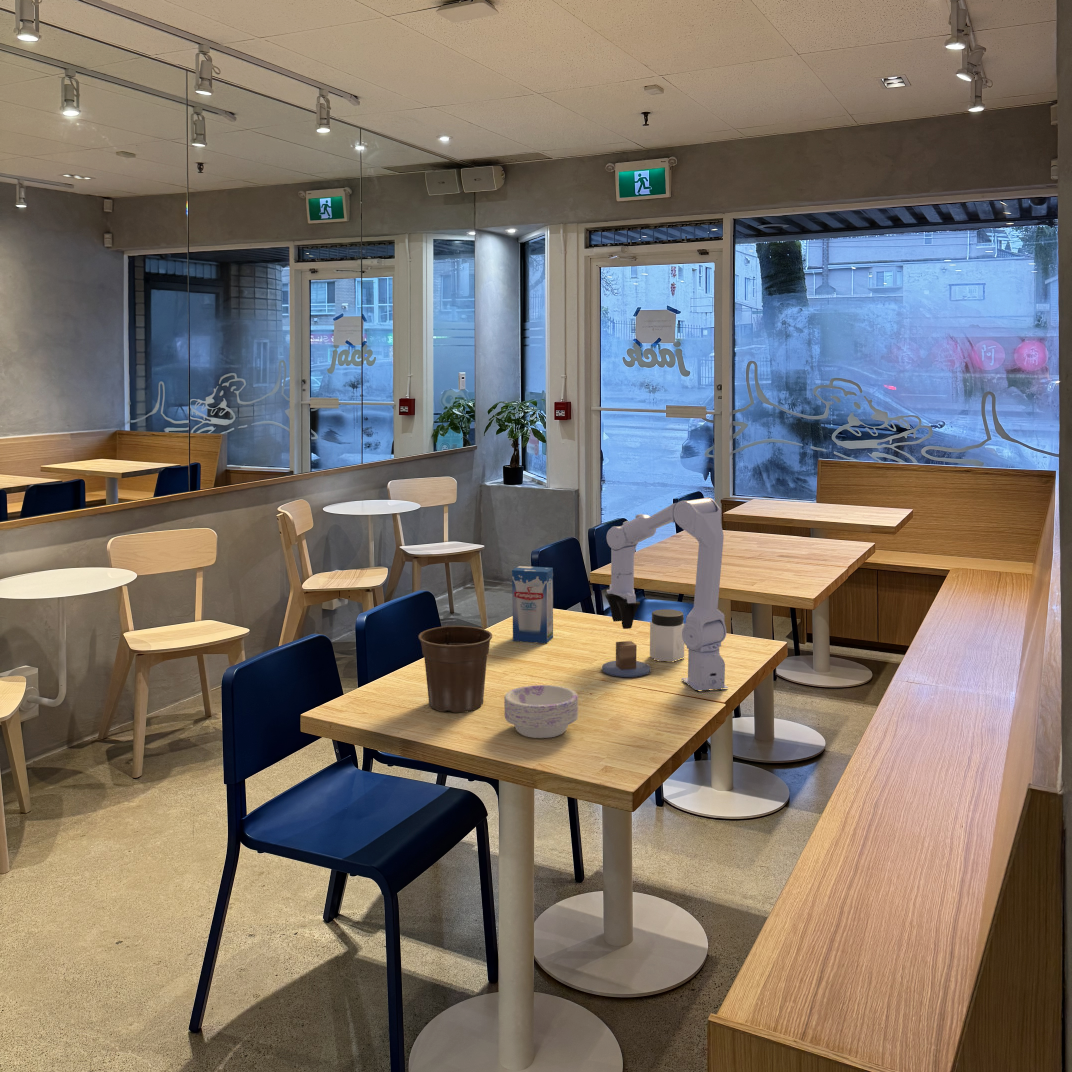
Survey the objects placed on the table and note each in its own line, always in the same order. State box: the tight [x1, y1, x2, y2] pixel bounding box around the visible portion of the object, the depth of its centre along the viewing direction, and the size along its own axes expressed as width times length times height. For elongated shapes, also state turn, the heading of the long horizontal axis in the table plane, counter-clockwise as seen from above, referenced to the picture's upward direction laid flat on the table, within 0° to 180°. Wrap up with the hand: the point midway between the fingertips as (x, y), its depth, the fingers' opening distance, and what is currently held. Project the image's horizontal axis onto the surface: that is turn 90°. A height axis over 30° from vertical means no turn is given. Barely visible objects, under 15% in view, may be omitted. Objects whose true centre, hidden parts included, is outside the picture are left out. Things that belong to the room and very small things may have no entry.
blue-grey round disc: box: [601, 660, 651, 678], centre depth 247 cm, size 12×12×1 cm
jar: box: [649, 608, 686, 662], centre depth 257 cm, size 9×8×12 cm
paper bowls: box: [503, 684, 579, 739], centre depth 205 cm, size 15×15×8 cm
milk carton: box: [511, 565, 554, 644], centre depth 275 cm, size 10×6×20 cm, turn 73°
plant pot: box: [418, 625, 493, 714], centre depth 221 cm, size 16×16×16 cm
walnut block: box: [615, 640, 638, 670], centre depth 246 cm, size 4×4×6 cm
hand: (622, 624), depth 254 cm, fingers open, 7 cm apart
